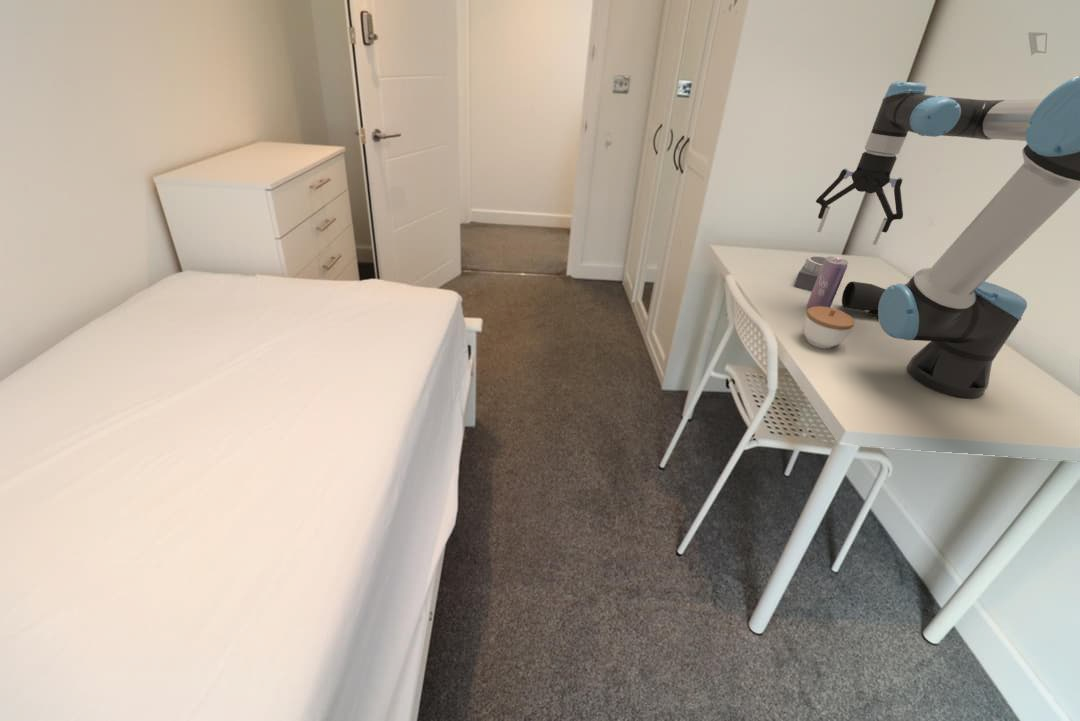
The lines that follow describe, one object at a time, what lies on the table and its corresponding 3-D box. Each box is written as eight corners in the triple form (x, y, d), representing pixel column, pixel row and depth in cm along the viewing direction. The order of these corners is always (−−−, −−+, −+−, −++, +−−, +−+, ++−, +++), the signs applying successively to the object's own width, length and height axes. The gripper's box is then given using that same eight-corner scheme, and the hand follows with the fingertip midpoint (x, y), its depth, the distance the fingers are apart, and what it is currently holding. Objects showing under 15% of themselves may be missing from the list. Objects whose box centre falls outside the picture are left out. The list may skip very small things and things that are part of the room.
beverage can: (832, 311, 147) (853, 262, 139) (821, 315, 144) (841, 265, 136) (813, 302, 151) (832, 254, 143) (802, 306, 148) (820, 257, 140)
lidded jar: (848, 356, 125) (864, 322, 119) (803, 349, 126) (816, 316, 121) (835, 335, 133) (849, 303, 128) (792, 329, 135) (805, 297, 130)
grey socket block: (827, 295, 156) (837, 271, 152) (793, 286, 161) (802, 262, 156) (834, 282, 166) (843, 259, 162) (802, 274, 171) (810, 251, 166)
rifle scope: (946, 333, 140) (965, 300, 134) (846, 318, 143) (861, 286, 138) (929, 316, 148) (946, 285, 143) (836, 303, 152) (849, 272, 147)
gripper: (940, 160, 122) (900, 245, 133) (828, 143, 133) (800, 223, 144) (940, 164, 116) (898, 252, 128) (823, 146, 127) (794, 229, 139)
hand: (846, 237), depth 136 cm, fingers open, 13 cm apart
